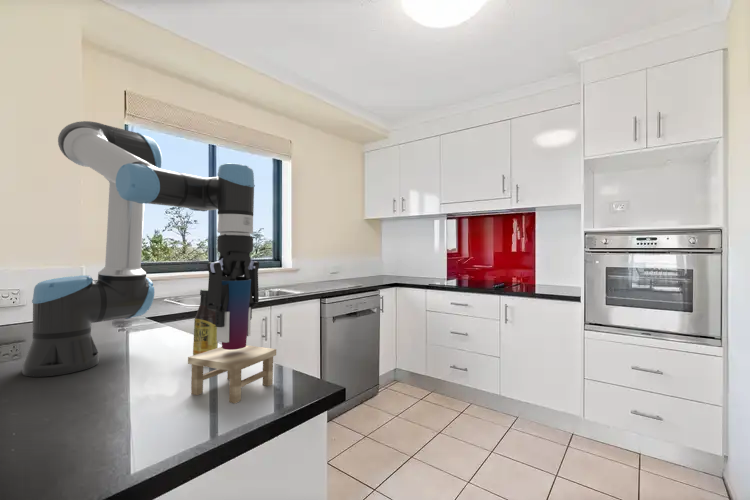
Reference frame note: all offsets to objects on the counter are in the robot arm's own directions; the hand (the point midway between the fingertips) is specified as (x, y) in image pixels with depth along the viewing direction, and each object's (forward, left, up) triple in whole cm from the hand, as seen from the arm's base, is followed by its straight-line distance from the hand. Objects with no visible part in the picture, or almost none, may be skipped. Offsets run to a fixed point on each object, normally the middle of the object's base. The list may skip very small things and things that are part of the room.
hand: (234, 338), depth 83 cm
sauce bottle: (-23, +14, -11) cm, 29 cm away
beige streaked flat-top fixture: (0, 0, -11) cm, 11 cm away
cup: (0, 0, -2) cm, 2 cm away
